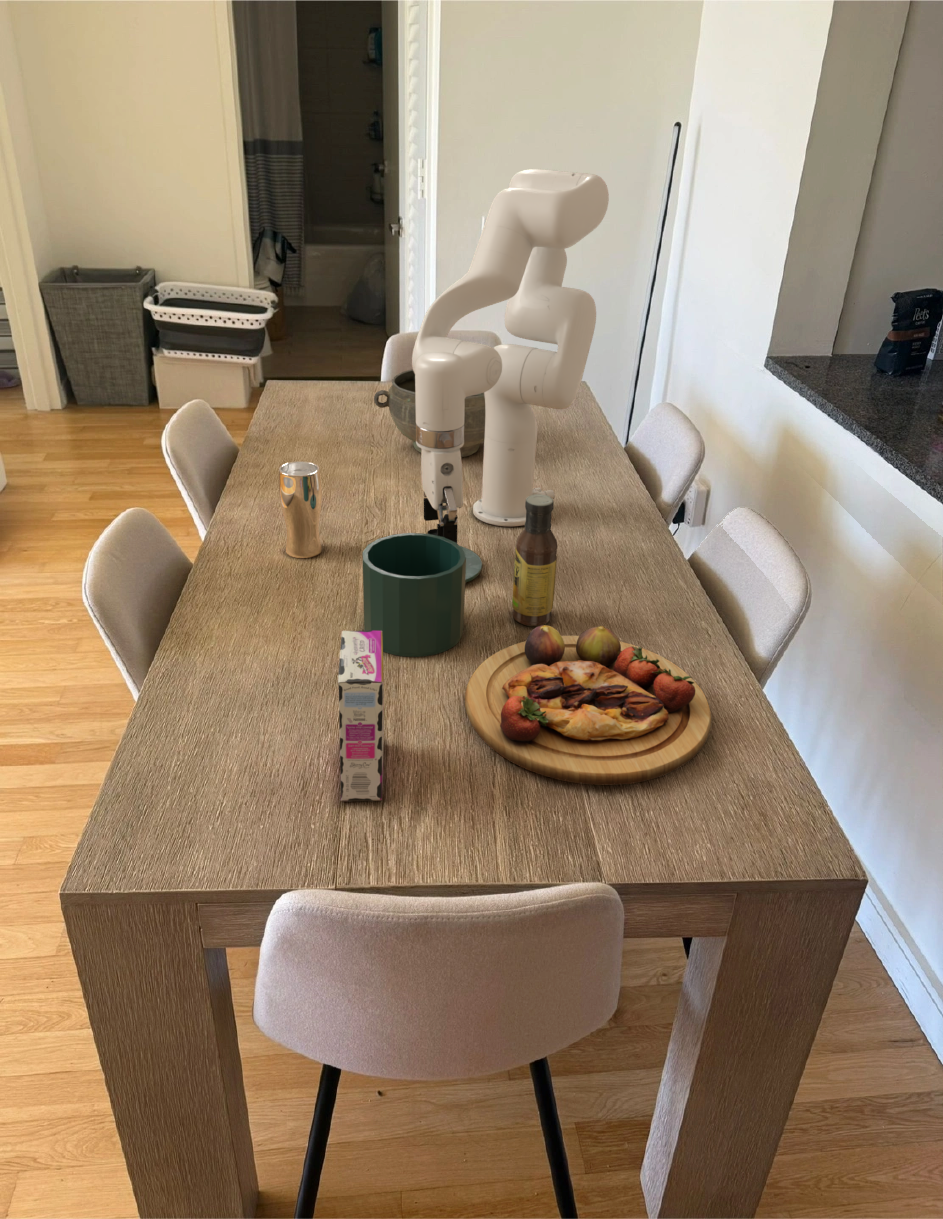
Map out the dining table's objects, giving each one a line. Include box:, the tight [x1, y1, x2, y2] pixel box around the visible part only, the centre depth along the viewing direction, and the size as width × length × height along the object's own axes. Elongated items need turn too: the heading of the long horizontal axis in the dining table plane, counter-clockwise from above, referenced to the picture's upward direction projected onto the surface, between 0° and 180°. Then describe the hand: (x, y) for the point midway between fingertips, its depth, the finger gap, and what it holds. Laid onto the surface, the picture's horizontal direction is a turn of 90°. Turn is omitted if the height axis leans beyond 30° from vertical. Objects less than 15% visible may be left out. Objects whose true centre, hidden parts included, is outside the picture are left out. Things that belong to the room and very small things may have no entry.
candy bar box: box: [337, 630, 385, 802], centre depth 108 cm, size 11×5×16 cm, turn 5°
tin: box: [361, 532, 466, 658], centre depth 138 cm, size 15×15×13 cm
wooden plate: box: [464, 624, 713, 786], centre depth 122 cm, size 32×32×8 cm
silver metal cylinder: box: [278, 460, 323, 559], centre depth 159 cm, size 7×7×15 cm
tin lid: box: [427, 528, 483, 584], centre depth 157 cm, size 16×16×7 cm
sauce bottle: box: [511, 494, 558, 627], centre depth 140 cm, size 6×6×20 cm
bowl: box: [373, 368, 485, 458], centre depth 206 cm, size 32×26×15 cm
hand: (440, 532), depth 156 cm, fingers open, 9 cm apart
